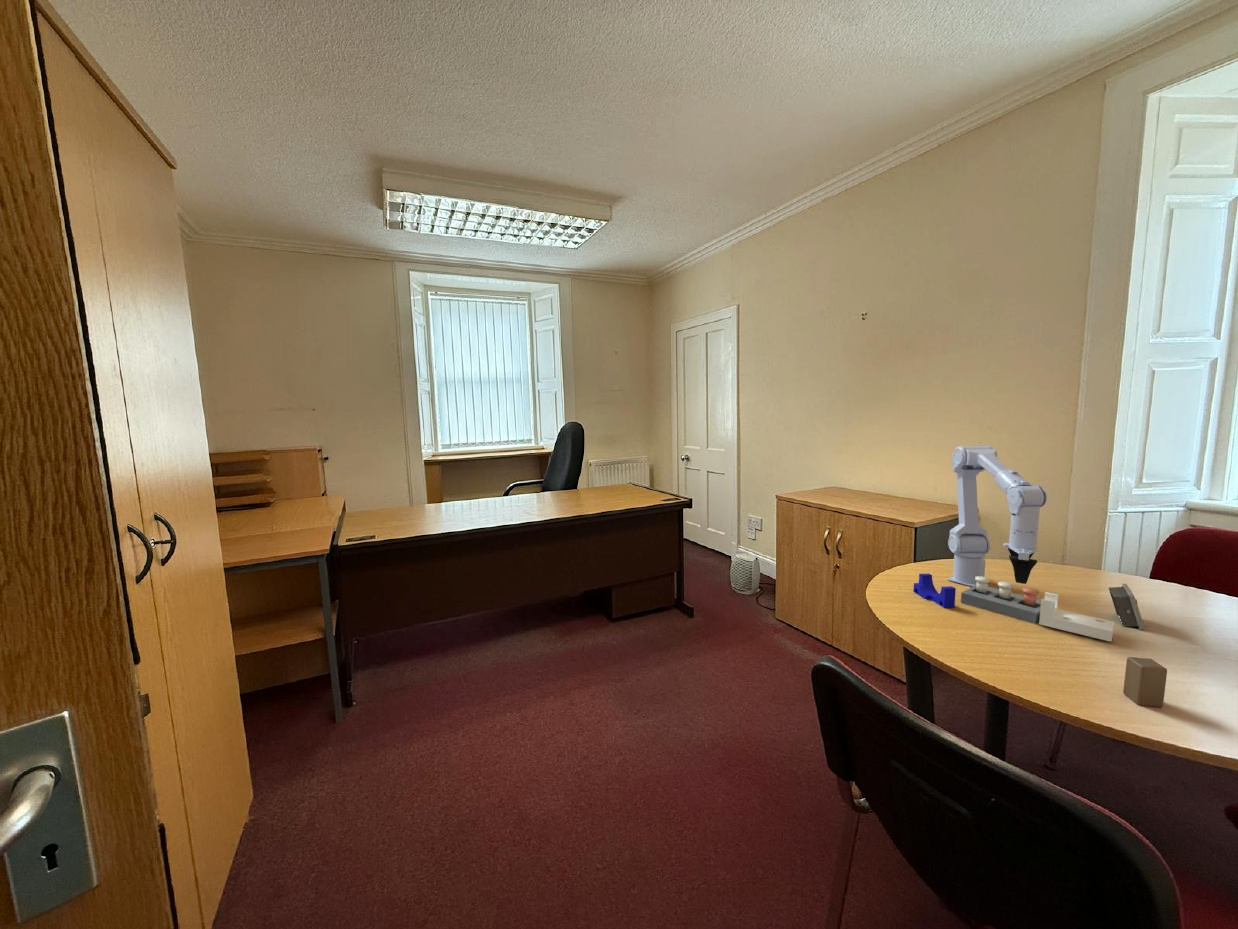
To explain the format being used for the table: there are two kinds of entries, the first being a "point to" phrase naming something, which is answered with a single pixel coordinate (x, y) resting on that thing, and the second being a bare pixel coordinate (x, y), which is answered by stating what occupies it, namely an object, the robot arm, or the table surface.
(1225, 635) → the table surface
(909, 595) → the table surface
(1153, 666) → the wooden block
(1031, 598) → the red plug
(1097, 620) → the bracket
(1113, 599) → the electrical switch
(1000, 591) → the cream plug mid
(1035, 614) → the socket strip
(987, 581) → the cream plug near
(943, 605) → the blue cradle holder
